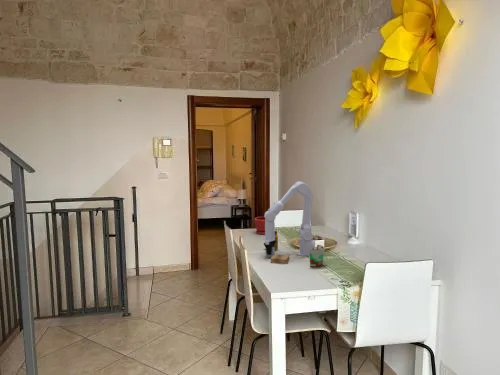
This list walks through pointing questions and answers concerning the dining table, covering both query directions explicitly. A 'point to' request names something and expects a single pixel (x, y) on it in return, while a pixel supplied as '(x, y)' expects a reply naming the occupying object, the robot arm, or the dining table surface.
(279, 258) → the base
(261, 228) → the plant pot
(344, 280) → the dining table surface
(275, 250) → the condiment
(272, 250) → the block
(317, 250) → the food container
